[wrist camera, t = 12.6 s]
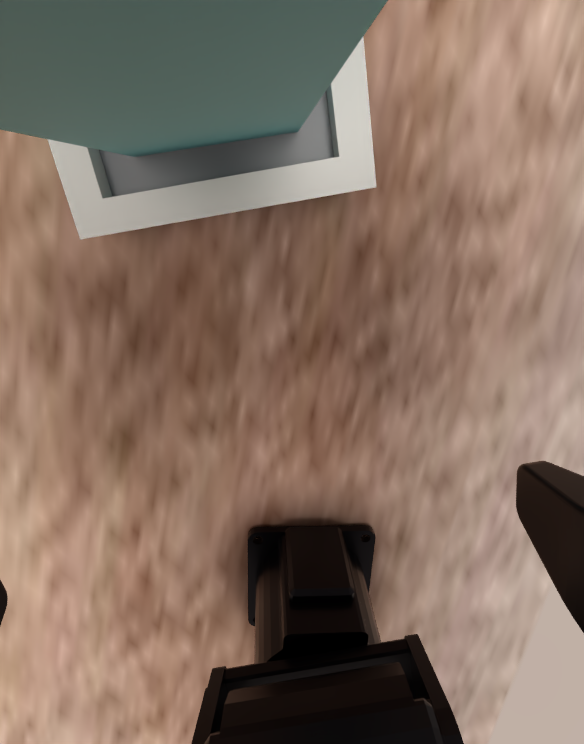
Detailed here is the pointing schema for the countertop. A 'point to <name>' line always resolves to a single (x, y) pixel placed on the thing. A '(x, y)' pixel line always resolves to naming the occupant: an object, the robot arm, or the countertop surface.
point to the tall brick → (170, 68)
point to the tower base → (227, 168)
